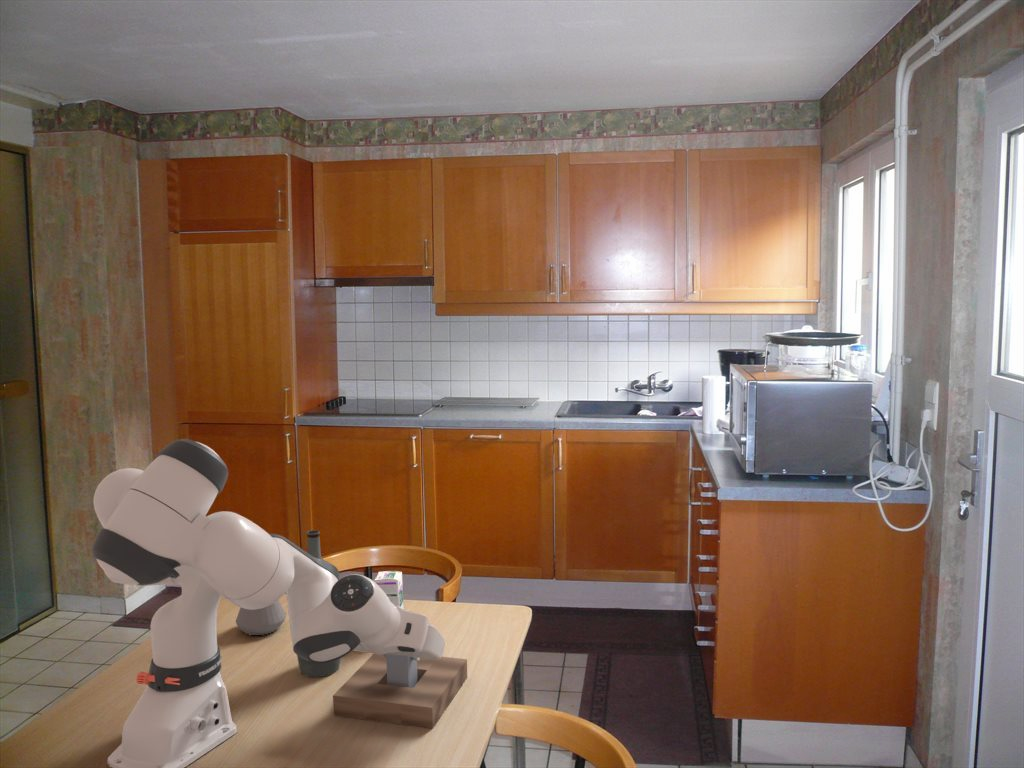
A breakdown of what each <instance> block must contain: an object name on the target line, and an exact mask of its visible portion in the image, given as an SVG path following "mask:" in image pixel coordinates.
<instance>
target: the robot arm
mask: <svg viewBox="0 0 1024 768" xmlns="http://www.w3.org/2000/svg"><path fill="white" fill-rule="evenodd" d="M228 478H229V470H228V467H227V464H226V463H225V461H224V460H223V459H222V458H221V457H220V455H219V454H218V453H217V452H215V450H214V449H212V448H211V447H209V446H208V445H206V444H204V443H201V442H199V441H195V440H192V439H189V438H182V439H176V440H174V441H171V442H170V443H169V444H167V445H165V447H162V449H161V450H160V451H158V453H157V454H156V455H155V456H154V459H153V461H151V462H150V463H149V465H147V467H146V468H145V469H144V470H142V469H140V468H136V467H135V468H134V467H133V468H132V467H127V468H125V467H124V468H120V469H117V470H115V471H113V472H111V473H109V474H107V475H106V476H105V477H104V478H103V479H101V481H100V482H99V483H98V485H97V487H96V488H95V491H94V494H93V508H94V511H95V514H96V516H97V519H98V521H99V522H100V524H101V526H102V527H103V528H100V529H99V532H98V533H97V534H96V537H95V539H94V542H93V544H92V547H91V554H92V557H93V559H94V560H95V561H97V563H98V566H100V568H101V570H103V572H104V574H105V576H107V578H108V579H109V580H110V581H111V582H112V583H114V584H116V583H117V584H121V585H126V586H127V585H129V586H139V587H149V586H150V587H151V586H165V585H166V586H167V585H168V586H169V585H180V586H181V594H180V595H179V596H177V597H175V598H173V599H172V600H170V601H168V602H166V603H165V604H164V605H162V606H160V607H159V608H158V609H157V610H156V611H155V613H154V614H153V616H152V618H151V622H150V627H149V628H150V639H151V640H150V641H151V648H152V649H151V651H152V658H151V659H150V665H149V669H148V672H145V671H140V672H139V671H138V673H137V674H136V679H135V681H136V683H137V684H141V685H147V686H146V687H145V689H144V691H143V692H142V694H141V696H140V697H139V699H138V701H137V702H136V704H135V705H134V708H133V709H132V711H131V712H130V714H129V716H128V717H127V718H126V720H125V722H124V723H123V726H122V732H121V743H120V744H119V746H117V747H116V749H115V750H114V751H113V752H112V753H111V754H110V755H109V756H108V757H107V765H108V764H109V765H110V766H111V767H114V768H186V767H187V766H189V765H190V764H192V763H194V762H195V761H196V760H198V759H199V758H201V757H202V756H205V754H207V753H208V752H210V751H212V750H213V749H215V748H216V747H217V746H218V745H220V744H222V743H224V742H225V741H227V740H228V739H230V737H232V736H234V735H236V733H237V732H238V729H237V725H236V723H235V722H234V721H233V720H232V719H233V717H232V713H231V709H230V708H231V707H230V703H229V697H228V693H227V691H228V690H227V687H226V685H225V683H224V681H223V678H222V675H221V672H220V671H221V669H222V655H221V650H220V649H221V648H220V647H219V646H218V635H217V634H218V633H217V627H218V625H217V623H218V622H217V621H218V620H217V619H218V610H219V609H218V608H219V604H220V602H221V599H222V598H224V599H225V600H227V602H229V603H230V604H233V605H234V606H237V607H239V608H244V609H249V610H255V609H261V608H264V607H267V606H270V605H272V604H273V603H275V602H276V601H278V600H279V601H280V599H281V598H283V596H284V595H286V604H287V612H288V618H289V619H288V621H289V629H290V635H291V644H292V647H293V648H292V650H293V653H295V654H296V656H297V655H298V656H299V657H301V658H303V659H305V660H308V661H311V662H314V663H328V662H332V661H335V660H337V659H340V658H341V659H342V658H343V657H345V656H347V655H349V654H350V653H352V651H353V652H354V651H355V652H364V653H371V654H372V655H373V654H377V655H382V656H383V657H386V654H389V655H399V656H408V657H410V659H411V660H414V661H419V660H420V658H427V659H435V660H438V659H440V658H441V657H443V654H444V652H445V651H444V650H445V647H446V645H445V644H446V640H445V638H444V637H443V635H442V634H441V633H440V631H439V630H438V629H437V628H436V627H435V626H434V625H432V624H429V623H430V618H429V617H428V616H427V615H426V614H421V613H417V612H413V611H410V610H406V609H405V608H404V609H402V608H400V607H398V606H394V604H393V603H392V602H390V600H389V598H388V596H387V595H386V594H385V592H384V591H383V590H382V589H381V588H380V587H379V586H378V585H377V584H376V583H375V582H374V580H373V579H371V578H370V577H367V576H365V575H361V574H359V573H358V574H357V573H352V574H347V575H344V576H343V577H341V576H340V571H339V569H338V567H337V566H336V565H334V564H333V563H331V562H329V561H327V560H322V559H318V558H315V557H313V556H311V555H310V554H308V551H305V550H304V549H302V548H301V547H300V546H298V545H297V544H295V543H294V542H293V541H291V540H290V539H288V538H287V537H285V536H283V535H280V534H277V533H269V532H267V531H266V530H265V529H264V528H262V527H260V526H259V525H258V524H256V523H254V521H252V520H251V519H248V518H247V517H245V516H242V515H241V514H239V513H237V512H234V511H228V510H227V511H223V510H222V511H218V512H217V511H215V512H213V513H211V514H209V515H207V514H208V512H209V510H210V509H211V507H212V506H213V504H214V501H215V500H216V498H217V495H218V494H221V493H222V491H223V490H224V488H225V486H226V485H225V484H226V482H227V480H228ZM109 765H108V766H109ZM110 766H109V767H110ZM111 767H110V768H111Z"/></svg>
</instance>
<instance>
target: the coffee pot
mask: <svg viewBox="0 0 1024 768" xmlns="http://www.w3.org/2000/svg"><path fill="white" fill-rule="evenodd" d="M286 617H287V613H286V611H285V608H284V607H283V605H282V604H281V601H280V599H279V600H278V601H276V602H275V603H273V604H272V605H270V606H267V607H264V608H261V609H255V610H249V609H244V608H241V607H239V610H238V613H237V616H236V620H235V624H236V625H237V627H238V629H240V630H241V631H242V632H243V633H245V632H246V633H247V634H250V635H249V636H251V635H262V636H265V635H264V634H267V635H269V634H268V633H270V634H272V633H271V632H273V633H275V632H276V631H277V630H278V629H279V628H280V627H281V626H282V625H283V624H284V622H285V621H286ZM278 627H279V628H278ZM277 628H278V629H277ZM276 629H277V630H276ZM275 630H276V631H275ZM274 631H275V632H274ZM246 633H245V634H246ZM247 634H246V635H247Z"/></svg>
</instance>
